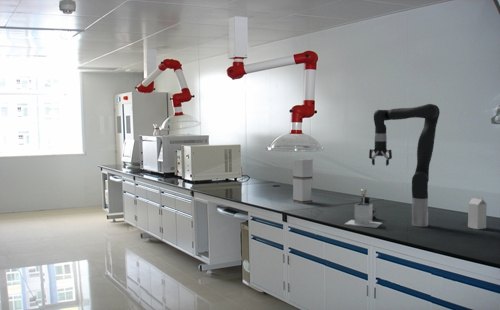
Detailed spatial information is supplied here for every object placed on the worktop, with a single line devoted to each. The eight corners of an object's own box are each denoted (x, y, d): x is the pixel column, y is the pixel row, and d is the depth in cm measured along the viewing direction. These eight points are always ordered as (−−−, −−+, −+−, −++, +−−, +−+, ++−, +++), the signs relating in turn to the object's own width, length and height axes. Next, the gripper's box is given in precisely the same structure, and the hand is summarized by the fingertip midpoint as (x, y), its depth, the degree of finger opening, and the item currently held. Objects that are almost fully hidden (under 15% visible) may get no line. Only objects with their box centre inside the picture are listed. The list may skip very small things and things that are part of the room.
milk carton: (477, 229, 287) (478, 198, 286) (467, 227, 294) (468, 196, 293) (486, 228, 290) (486, 197, 289) (476, 226, 297) (477, 195, 296)
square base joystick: (372, 222, 306) (372, 203, 305) (368, 225, 298) (368, 206, 297) (358, 221, 310) (358, 202, 310) (354, 223, 302) (354, 204, 302)
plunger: (370, 215, 306) (371, 189, 304) (367, 217, 299) (368, 190, 298) (359, 214, 309) (359, 188, 308) (356, 216, 302) (356, 190, 301)
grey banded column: (312, 202, 389) (312, 159, 387) (302, 203, 383) (302, 159, 381) (303, 200, 398) (303, 158, 396) (293, 201, 392) (293, 159, 390)
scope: (376, 198, 320) (363, 199, 317) (376, 219, 321) (362, 219, 318) (370, 196, 328) (357, 197, 325) (370, 216, 329) (357, 217, 326)
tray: (381, 223, 306) (381, 222, 306) (376, 227, 293) (376, 226, 293) (350, 220, 315) (350, 219, 315) (344, 224, 303) (344, 223, 303)
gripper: (392, 140, 314) (392, 165, 315) (371, 140, 321) (370, 164, 322) (390, 140, 307) (390, 166, 308) (368, 140, 314) (367, 165, 315)
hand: (380, 165), depth 315 cm, fingers open, 8 cm apart
